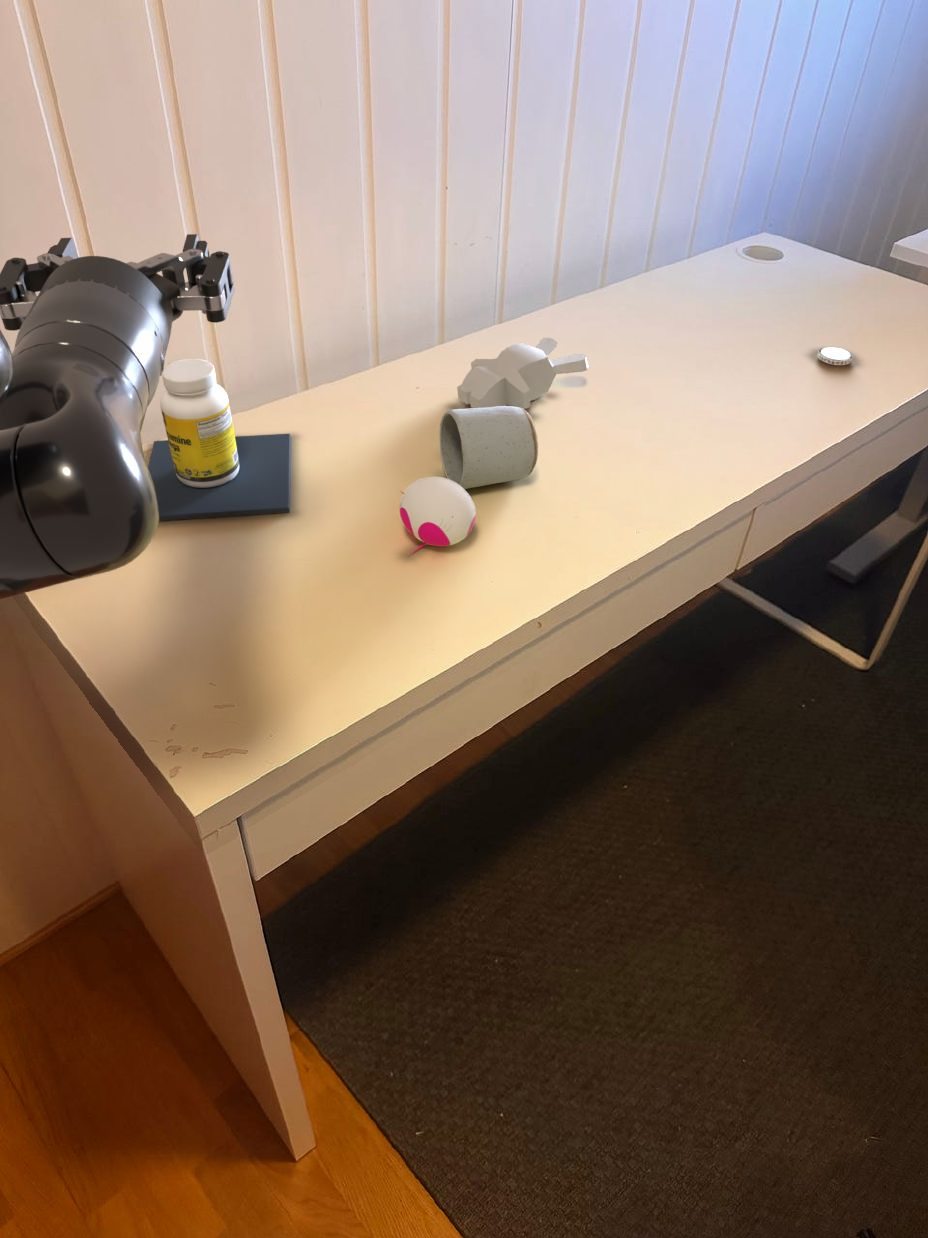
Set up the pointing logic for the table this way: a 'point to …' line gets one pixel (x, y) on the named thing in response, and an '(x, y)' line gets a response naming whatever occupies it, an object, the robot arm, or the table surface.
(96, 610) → the table surface
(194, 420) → the pill bottle
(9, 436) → the robot arm
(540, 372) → the bunny figurine
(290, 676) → the table surface
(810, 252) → the table surface
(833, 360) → the white bottle cap
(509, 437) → the ceramic mug
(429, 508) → the stress ball
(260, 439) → the mat
